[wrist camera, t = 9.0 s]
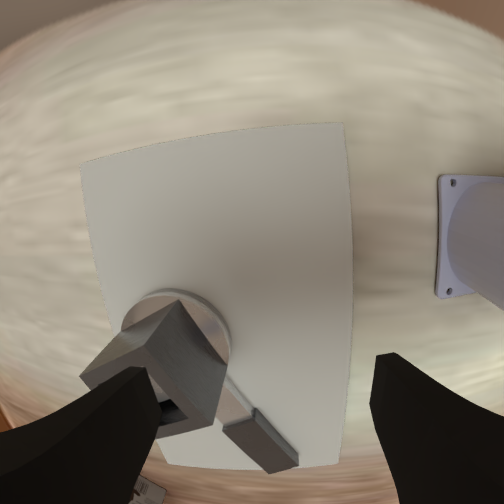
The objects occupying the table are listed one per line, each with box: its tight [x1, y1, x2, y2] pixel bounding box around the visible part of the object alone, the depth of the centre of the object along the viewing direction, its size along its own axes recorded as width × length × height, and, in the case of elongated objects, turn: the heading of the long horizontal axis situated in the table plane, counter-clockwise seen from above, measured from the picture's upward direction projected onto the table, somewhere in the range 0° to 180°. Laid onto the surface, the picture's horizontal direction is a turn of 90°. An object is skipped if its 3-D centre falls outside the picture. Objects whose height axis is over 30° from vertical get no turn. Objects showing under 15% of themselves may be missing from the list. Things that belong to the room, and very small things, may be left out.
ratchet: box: [121, 288, 299, 474], centre depth 17 cm, size 7×18×5 cm, turn 31°
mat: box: [80, 122, 353, 470], centre depth 18 cm, size 16×27×1 cm, turn 6°
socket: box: [79, 299, 228, 439], centre depth 14 cm, size 5×5×5 cm
